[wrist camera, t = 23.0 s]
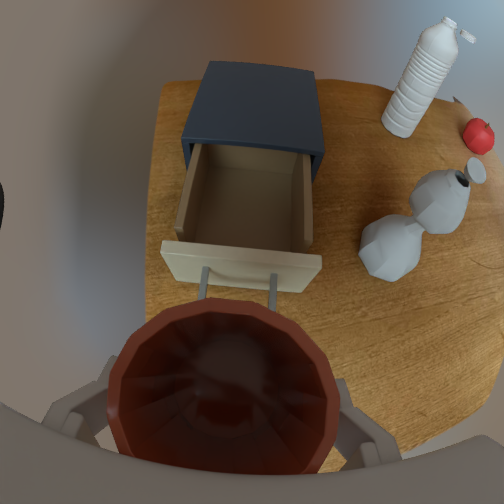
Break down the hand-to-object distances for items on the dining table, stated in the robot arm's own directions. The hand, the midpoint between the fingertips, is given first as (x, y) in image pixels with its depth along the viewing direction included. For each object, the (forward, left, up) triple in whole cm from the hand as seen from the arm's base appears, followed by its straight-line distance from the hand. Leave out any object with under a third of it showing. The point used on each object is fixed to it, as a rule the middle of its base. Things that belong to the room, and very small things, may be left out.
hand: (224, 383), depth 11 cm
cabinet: (0, +29, -18) cm, 35 cm away
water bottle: (+26, +40, -19) cm, 52 cm away
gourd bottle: (+17, +14, -19) cm, 29 cm away
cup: (0, -1, -5) cm, 5 cm away
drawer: (0, +14, -18) cm, 23 cm away
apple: (+48, +45, -19) cm, 68 cm away
